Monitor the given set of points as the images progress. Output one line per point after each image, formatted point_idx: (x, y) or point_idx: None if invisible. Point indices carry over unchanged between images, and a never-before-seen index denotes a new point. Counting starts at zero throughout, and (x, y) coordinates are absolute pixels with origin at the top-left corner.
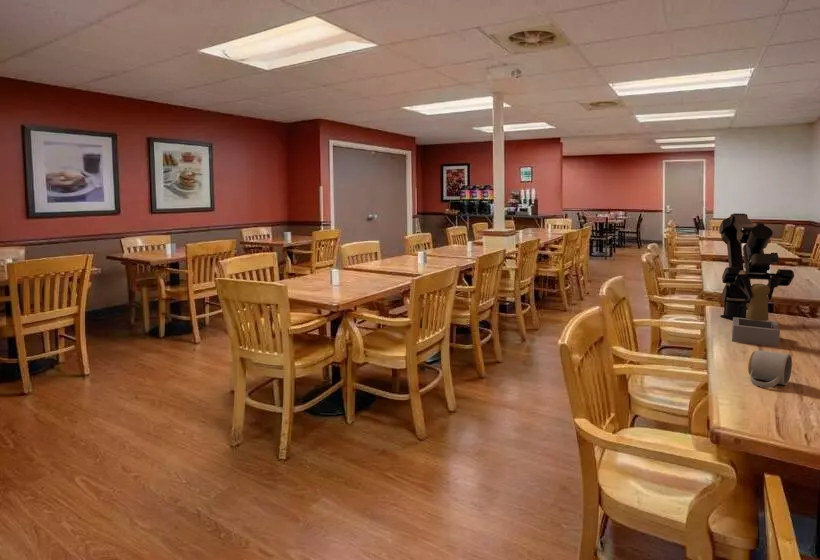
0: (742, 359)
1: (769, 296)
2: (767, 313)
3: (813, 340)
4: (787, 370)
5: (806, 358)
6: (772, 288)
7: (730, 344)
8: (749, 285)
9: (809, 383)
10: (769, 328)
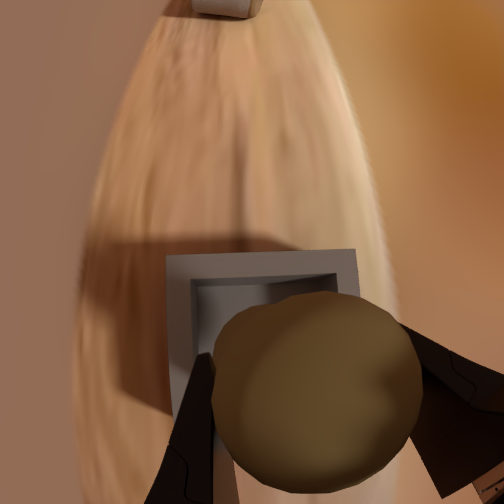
0: (281, 86)
1: (213, 371)
2: (219, 344)
3: (73, 419)
4: (197, 5)
5: (115, 170)
6: (185, 441)
7: (330, 215)
8: (440, 377)
9: (161, 24)
10: (207, 275)
